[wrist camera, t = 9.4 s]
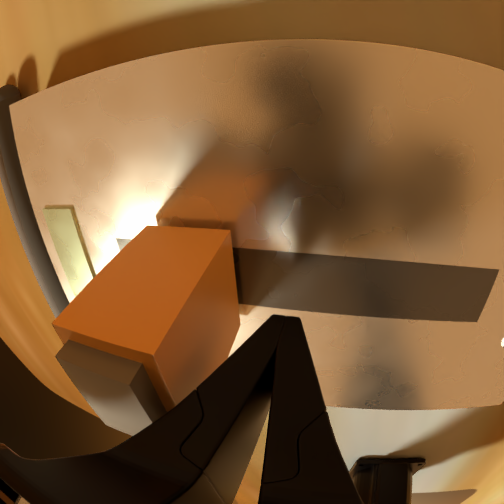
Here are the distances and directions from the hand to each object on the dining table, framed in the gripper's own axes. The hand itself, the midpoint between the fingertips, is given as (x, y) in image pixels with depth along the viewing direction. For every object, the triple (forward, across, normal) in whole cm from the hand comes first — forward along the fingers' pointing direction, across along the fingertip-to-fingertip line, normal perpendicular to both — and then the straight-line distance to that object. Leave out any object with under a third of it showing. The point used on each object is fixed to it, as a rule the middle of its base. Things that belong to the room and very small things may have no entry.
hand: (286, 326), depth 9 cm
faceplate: (+4, 0, 0) cm, 4 cm away
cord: (+4, +14, 0) cm, 14 cm away
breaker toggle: (+2, +3, 0) cm, 4 cm away
